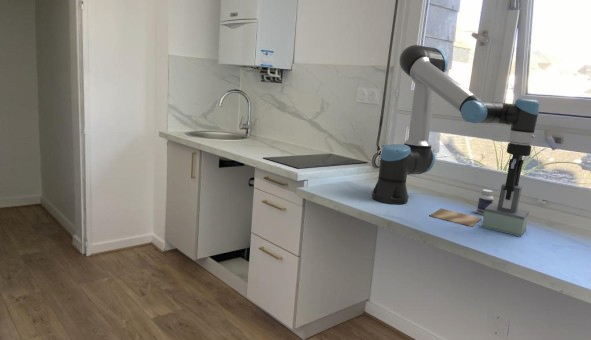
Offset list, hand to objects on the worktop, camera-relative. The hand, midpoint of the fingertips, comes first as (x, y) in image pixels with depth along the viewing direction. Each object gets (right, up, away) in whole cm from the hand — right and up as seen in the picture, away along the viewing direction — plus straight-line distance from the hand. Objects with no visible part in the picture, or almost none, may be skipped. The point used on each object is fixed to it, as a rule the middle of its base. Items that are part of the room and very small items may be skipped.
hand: (507, 206), depth 159 cm
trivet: (-15, -5, +10) cm, 19 cm away
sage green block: (-1, -8, +2) cm, 8 cm away
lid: (0, -2, 0) cm, 2 cm away
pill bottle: (-1, -5, +19) cm, 20 cm away
